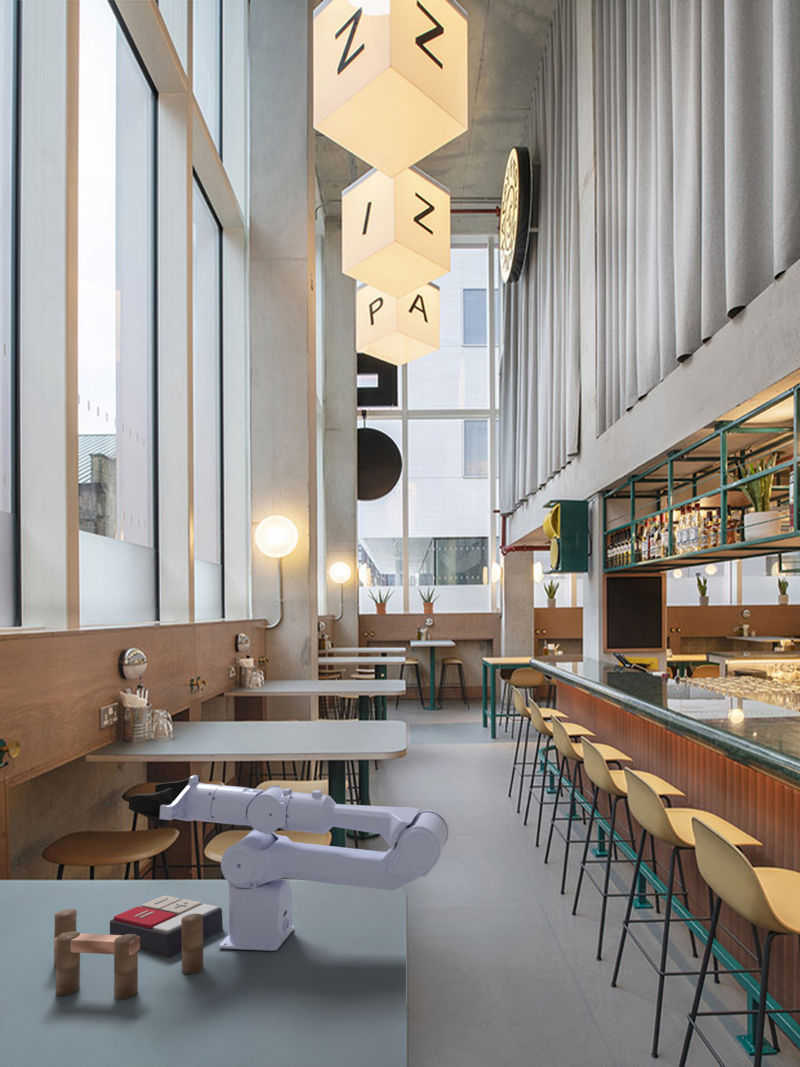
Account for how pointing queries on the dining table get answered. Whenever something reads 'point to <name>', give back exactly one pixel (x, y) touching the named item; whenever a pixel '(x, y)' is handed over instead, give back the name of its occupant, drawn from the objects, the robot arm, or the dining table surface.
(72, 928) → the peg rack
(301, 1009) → the dining table surface
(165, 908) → the calculator
